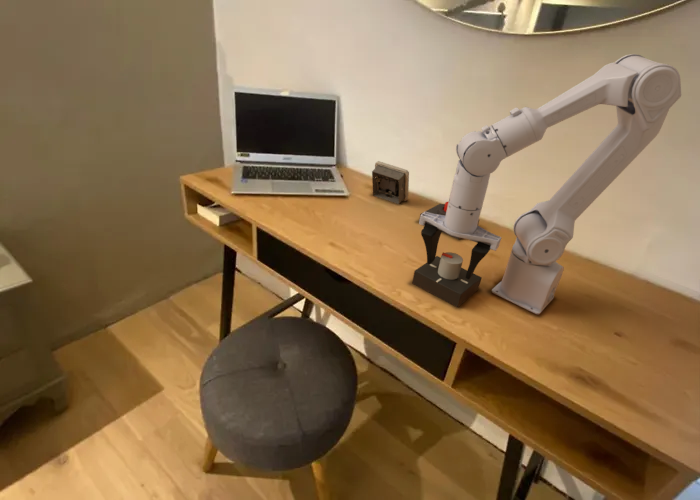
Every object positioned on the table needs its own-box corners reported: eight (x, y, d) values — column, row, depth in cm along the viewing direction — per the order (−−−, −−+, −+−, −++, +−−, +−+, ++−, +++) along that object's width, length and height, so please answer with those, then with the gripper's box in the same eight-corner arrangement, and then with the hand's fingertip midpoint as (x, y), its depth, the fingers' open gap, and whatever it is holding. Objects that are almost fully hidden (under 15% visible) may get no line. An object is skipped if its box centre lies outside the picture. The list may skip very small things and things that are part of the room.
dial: (462, 272, 89) (466, 255, 87) (454, 282, 86) (458, 265, 84) (442, 265, 91) (446, 248, 89) (434, 274, 88) (438, 257, 86)
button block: (477, 227, 113) (481, 212, 111) (458, 239, 107) (462, 224, 105) (438, 211, 119) (441, 196, 117) (418, 221, 113) (421, 206, 110)
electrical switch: (408, 200, 122) (412, 168, 117) (398, 209, 119) (402, 175, 113) (377, 190, 126) (379, 158, 121) (367, 198, 123) (369, 165, 117)
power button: (461, 211, 111) (463, 205, 110) (454, 216, 109) (455, 209, 108) (448, 206, 113) (450, 199, 112) (440, 210, 111) (442, 204, 110)
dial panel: (478, 289, 90) (482, 276, 89) (457, 308, 85) (460, 293, 83) (434, 267, 96) (437, 254, 94) (411, 283, 90) (414, 269, 89)
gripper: (513, 208, 81) (493, 273, 88) (435, 184, 87) (422, 247, 94) (501, 223, 76) (481, 291, 83) (419, 196, 82) (407, 262, 89)
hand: (449, 268), depth 88 cm, fingers open, 7 cm apart
